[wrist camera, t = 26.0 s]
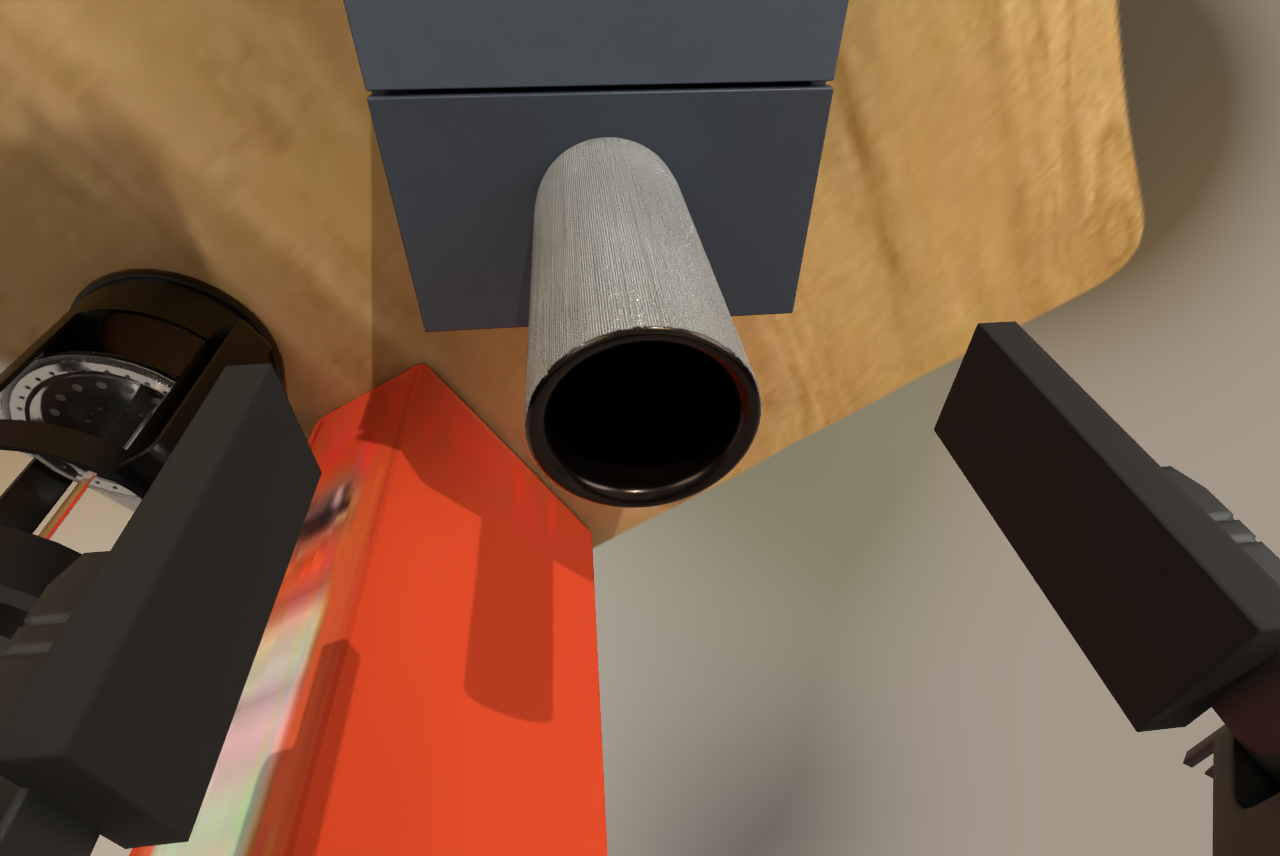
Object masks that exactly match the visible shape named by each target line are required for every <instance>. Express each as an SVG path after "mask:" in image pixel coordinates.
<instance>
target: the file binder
mask: <svg viewBox="0 0 1280 856" xmlns="http://www.w3.org/2000/svg"><path fill="white" fill-rule="evenodd" d="M308 444H309V446H310V448H311V450H312V452H313V455H314V457H315V459H316V461H317V463H318V465H319V468H320V470H321V472H322V474H321V477H320V479H319V482H318V485H317V488H316V490H315V493H314V496H313V499H312V501H311V504H310V507H309V510H308V512H307V515H306V518H305V521H304V524H303V526H302V529H301V532H300V535H299V537H298V540H297V543H296V546H295V548H294V551H293V554H292V557H291V559H290V562H289V565H288V568H287V570H286V573H285V576H284V579H283V582H282V584H281V587H280V590H279V593H278V595H277V598H276V601H275V604H274V606H273V609H272V612H271V615H270V617H269V620H268V623H267V626H266V628H265V631H264V634H263V637H262V640H261V642H260V645H259V648H258V651H257V653H256V656H255V659H254V662H253V664H252V667H251V670H250V673H249V675H248V678H247V681H246V684H245V686H244V689H243V692H242V695H241V698H240V700H239V703H238V706H237V709H236V711H235V714H234V717H233V720H232V722H231V725H230V728H229V731H228V733H227V736H226V739H225V742H224V744H223V747H222V750H221V753H220V756H219V758H218V761H217V764H216V767H215V769H214V772H213V775H212V778H211V780H210V783H209V786H208V789H207V791H206V794H205V797H204V800H203V802H202V805H201V808H200V811H199V813H198V816H197V819H196V822H195V825H194V827H193V830H192V833H191V836H190V838H189V841H188V842H181V843H172V844H163V845H155V846H146V847H137V848H132V850H131V853H130V855H129V856H607V836H606V817H605V796H604V775H603V755H602V734H601V713H600V695H599V694H600V693H599V672H598V652H597V633H596V632H597V631H596V612H595V590H594V571H593V549H592V533H591V532H590V531H589V529H588V528H587V527H586V526H585V525H584V524H583V523H582V522H581V521H580V520H579V519H578V518H577V517H576V516H575V515H574V514H573V513H572V512H571V511H570V510H569V509H568V508H567V507H566V506H565V505H564V504H563V503H562V502H561V501H560V500H559V499H558V498H557V497H556V496H555V495H554V494H553V493H552V492H551V491H550V490H549V489H548V488H547V487H546V486H545V485H544V484H543V483H542V482H541V481H540V480H539V479H538V478H537V477H536V476H535V475H534V474H533V473H532V472H531V471H530V470H529V469H528V468H527V467H526V465H525V464H524V463H523V462H522V461H521V460H520V459H519V458H518V457H517V456H516V455H515V454H514V453H513V452H512V451H511V450H510V449H509V448H508V447H507V446H506V445H505V444H504V443H503V442H502V441H501V440H500V439H499V438H498V437H497V436H496V435H495V434H494V433H493V432H492V431H491V430H490V429H489V428H488V427H487V426H486V425H485V424H484V423H483V422H482V421H481V420H480V419H479V418H478V417H477V416H476V415H475V414H474V413H473V412H472V411H471V410H470V409H469V408H468V407H467V406H466V405H465V404H464V402H463V401H462V400H461V399H460V398H459V397H458V396H457V395H456V394H455V393H454V392H453V391H452V390H451V389H450V388H449V387H448V386H447V385H446V384H445V383H444V382H443V381H442V380H441V379H440V378H439V377H438V376H437V375H436V374H435V373H434V372H433V371H432V370H431V369H430V368H429V367H428V366H427V365H426V364H425V363H423V364H421V365H419V364H417V365H416V366H414V367H412V368H410V369H408V370H407V371H405V372H403V373H401V374H399V375H398V376H396V377H394V378H392V379H390V380H389V381H387V382H385V383H383V384H381V385H380V386H378V387H376V388H374V389H372V390H371V391H369V392H367V393H365V394H363V395H362V396H360V397H358V398H356V399H354V400H353V401H351V402H349V403H347V404H345V405H344V406H342V407H340V408H338V409H336V410H335V411H333V412H331V413H329V414H327V415H326V416H324V417H322V418H320V419H319V421H318V422H317V423H316V424H315V427H314V429H313V431H312V434H311V436H310V438H309V441H308Z"/></svg>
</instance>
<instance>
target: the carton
mask: <svg viewBox="0 0 1280 856" xmlns="http://www.w3.org/2000/svg"><path fill="white" fill-rule="evenodd" d="M371 92H372V95H370V96H369V97H368V98H367V101H368V105H369V109H370V113H371V117H372V121H373V125H374V129H375V133H376V137H377V141H378V145H379V149H380V153H381V157H382V161H383V165H384V169H385V173H386V177H387V181H388V185H389V189H390V193H391V197H392V201H393V205H394V209H395V213H396V217H397V221H398V224H399V228H400V232H401V236H402V240H403V244H404V248H405V252H406V256H407V260H408V264H409V268H410V272H411V276H412V280H413V284H414V288H415V292H416V296H417V300H418V304H419V308H420V312H421V316H422V320H423V324H424V328H425V331H426V332H433V331H452V330H472V329H491V328H510V327H529V309H530V289H531V268H532V247H533V227H534V209H535V202H536V197H537V192H538V189H539V186H540V183H541V181H542V179H543V177H544V175H545V173H546V171H547V170H548V168H549V167H550V165H551V164H552V163H553V162H554V161H555V160H556V159H557V158H558V157H559V156H560V155H561V154H562V153H564V152H565V151H566V150H568V149H569V148H571V147H573V146H575V145H577V144H579V143H581V142H584V141H587V140H590V139H595V138H602V137H616V138H623V139H627V140H631V141H634V142H636V143H639V144H641V145H643V146H645V147H646V148H648V149H650V150H651V151H652V152H654V153H655V154H656V155H657V156H659V157H660V158H661V159H662V161H663V162H664V163H665V164H666V165H667V167H668V168H669V170H670V171H671V173H672V175H673V176H674V178H675V180H676V182H677V184H678V186H679V188H680V191H681V193H682V196H683V198H684V201H685V203H686V206H687V208H688V211H689V213H690V216H691V218H692V221H693V223H694V226H695V228H696V231H697V233H698V236H699V238H700V241H701V243H702V246H703V248H704V251H705V253H706V256H707V258H708V261H709V263H710V266H711V268H712V271H713V273H714V276H715V278H716V281H717V283H718V286H719V288H720V291H721V293H722V296H723V298H724V301H725V303H726V306H727V308H728V311H729V313H730V316H743V315H763V314H782V313H792V312H793V306H794V301H795V295H796V290H797V285H798V279H799V274H800V268H801V263H802V257H803V252H804V246H805V241H806V236H807V230H808V225H809V219H810V214H811V208H812V203H813V198H814V192H815V187H816V181H817V176H818V170H819V165H820V159H821V154H822V149H823V143H824V138H825V132H826V127H827V121H828V116H829V110H830V105H831V100H832V94H833V87H831V86H830V85H826V81H792V82H745V83H698V84H652V85H605V86H558V87H511V88H465V89H418V90H371Z"/></svg>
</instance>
